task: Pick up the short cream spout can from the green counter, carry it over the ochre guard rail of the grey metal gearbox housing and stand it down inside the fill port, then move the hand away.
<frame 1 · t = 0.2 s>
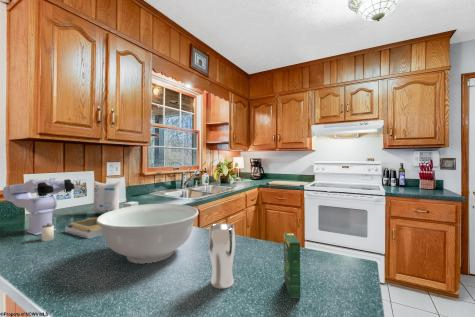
hand: (63, 187, 100), 21 cm above the counter, tool horizontal, fingers open, 7 cm apart
skincare box: (131, 227, 116), on the counter
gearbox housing: (92, 230, 111), on the counter
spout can: (47, 239, 99), on the counter
coffee box: (291, 289, 60), on the counter
beer glass: (222, 283, 64), on the counter
pouch: (106, 215, 142), on the counter
bowl: (151, 254, 83), on the counter
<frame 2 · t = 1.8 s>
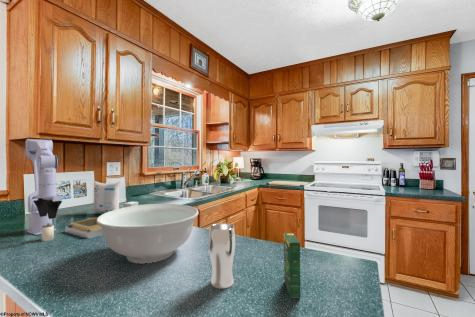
hand: (47, 217, 99), 9 cm above the counter, tool pointing down, fingers open, 7 cm apart
nothing on the counter moved.
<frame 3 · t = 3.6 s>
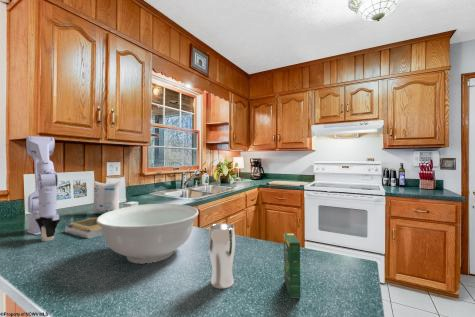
hand: (47, 235, 99), 2 cm above the counter, tool pointing down, fingers closed on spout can, 4 cm apart
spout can: (47, 239, 99), on the counter, touching gripper
everything else where it was.
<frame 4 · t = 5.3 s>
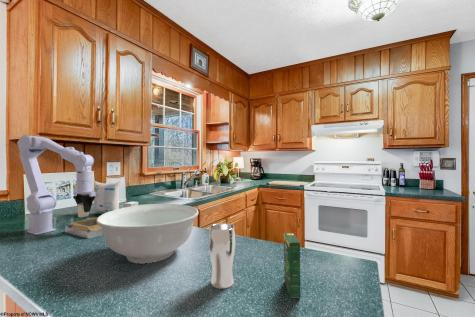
hand: (84, 211, 108), 9 cm above the counter, tool pointing down, fingers closed on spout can, 4 cm apart
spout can: (83, 216, 108), point 7 cm above the counter, touching gripper
everything else where it was.
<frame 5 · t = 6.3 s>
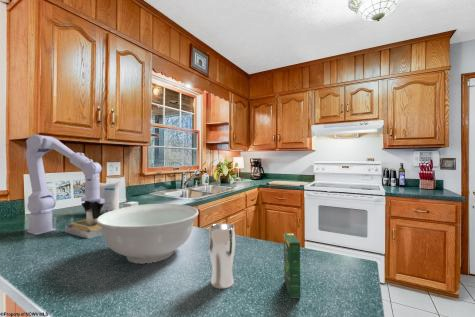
hand: (92, 217, 111), 6 cm above the counter, tool pointing down, fingers closed on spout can, 4 cm apart
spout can: (91, 222, 110), point 4 cm above the counter, touching gripper
everything else where it was.
when the fingers open (3 cm above the counter, at t = 7.2 s): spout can stays where it is, resting in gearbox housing.
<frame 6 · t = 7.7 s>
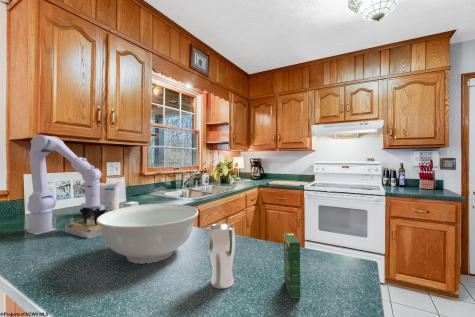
hand: (92, 224, 111), 3 cm above the counter, tool pointing down, fingers open, 7 cm apart
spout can: (91, 230, 110), resting in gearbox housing
everything else where it was.
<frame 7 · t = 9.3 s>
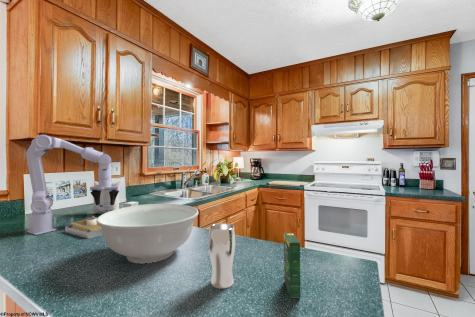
hand: (105, 204, 121), 10 cm above the counter, tool pointing down, fingers open, 7 cm apart
nothing on the counter moved.
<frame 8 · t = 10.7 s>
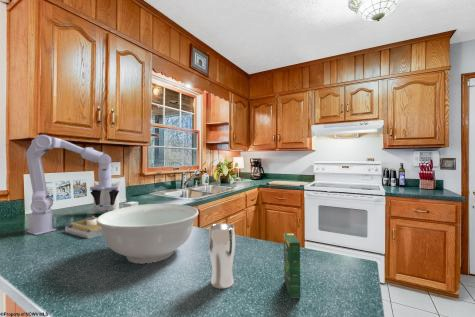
hand: (105, 204, 121), 10 cm above the counter, tool pointing down, fingers open, 7 cm apart
nothing on the counter moved.
at the end: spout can inside the target area on the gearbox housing (0.5 cm from its centre), point 0.0 cm above the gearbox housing's base; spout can tilted 0°; the gripper is holding nothing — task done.
